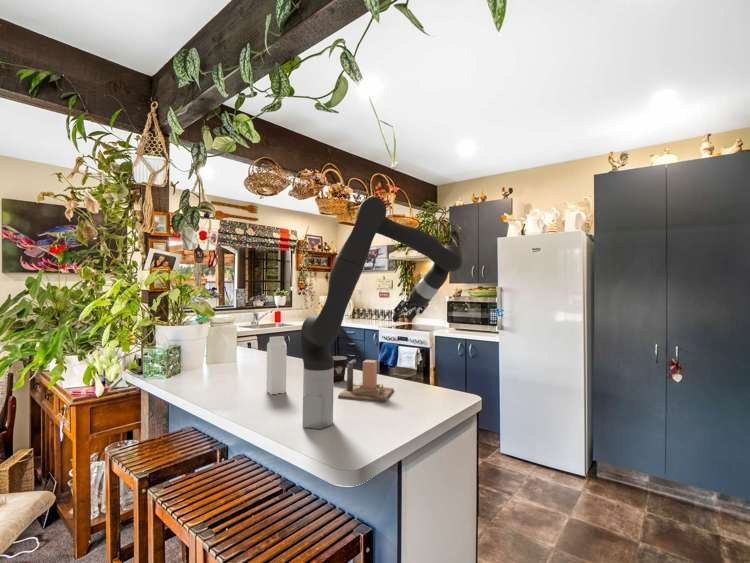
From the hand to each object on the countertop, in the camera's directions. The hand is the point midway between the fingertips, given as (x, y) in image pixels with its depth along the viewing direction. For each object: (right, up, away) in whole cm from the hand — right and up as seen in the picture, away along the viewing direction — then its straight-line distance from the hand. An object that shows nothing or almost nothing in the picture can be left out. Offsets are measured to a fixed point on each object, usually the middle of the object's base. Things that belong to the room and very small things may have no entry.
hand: (401, 319), depth 146 cm
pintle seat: (-14, -29, +1) cm, 32 cm away
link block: (-12, -28, 0) cm, 31 cm away
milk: (-49, -29, +2) cm, 57 cm away
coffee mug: (-29, -29, +21) cm, 46 cm away
